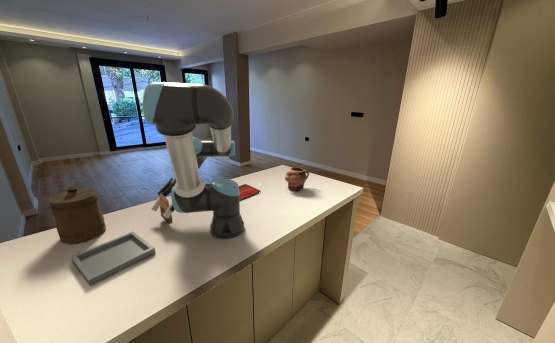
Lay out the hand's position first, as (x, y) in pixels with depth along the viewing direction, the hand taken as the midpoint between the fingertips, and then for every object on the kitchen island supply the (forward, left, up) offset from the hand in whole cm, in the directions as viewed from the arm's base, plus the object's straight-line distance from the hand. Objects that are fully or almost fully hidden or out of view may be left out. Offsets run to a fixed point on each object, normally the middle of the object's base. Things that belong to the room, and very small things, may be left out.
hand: (159, 213), depth 100 cm
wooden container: (+19, +23, -7) cm, 31 cm away
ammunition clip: (0, -3, -5) cm, 5 cm away
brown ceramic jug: (-25, -81, -7) cm, 85 cm away
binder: (-2, -51, -7) cm, 51 cm away
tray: (-8, +21, -6) cm, 24 cm away
